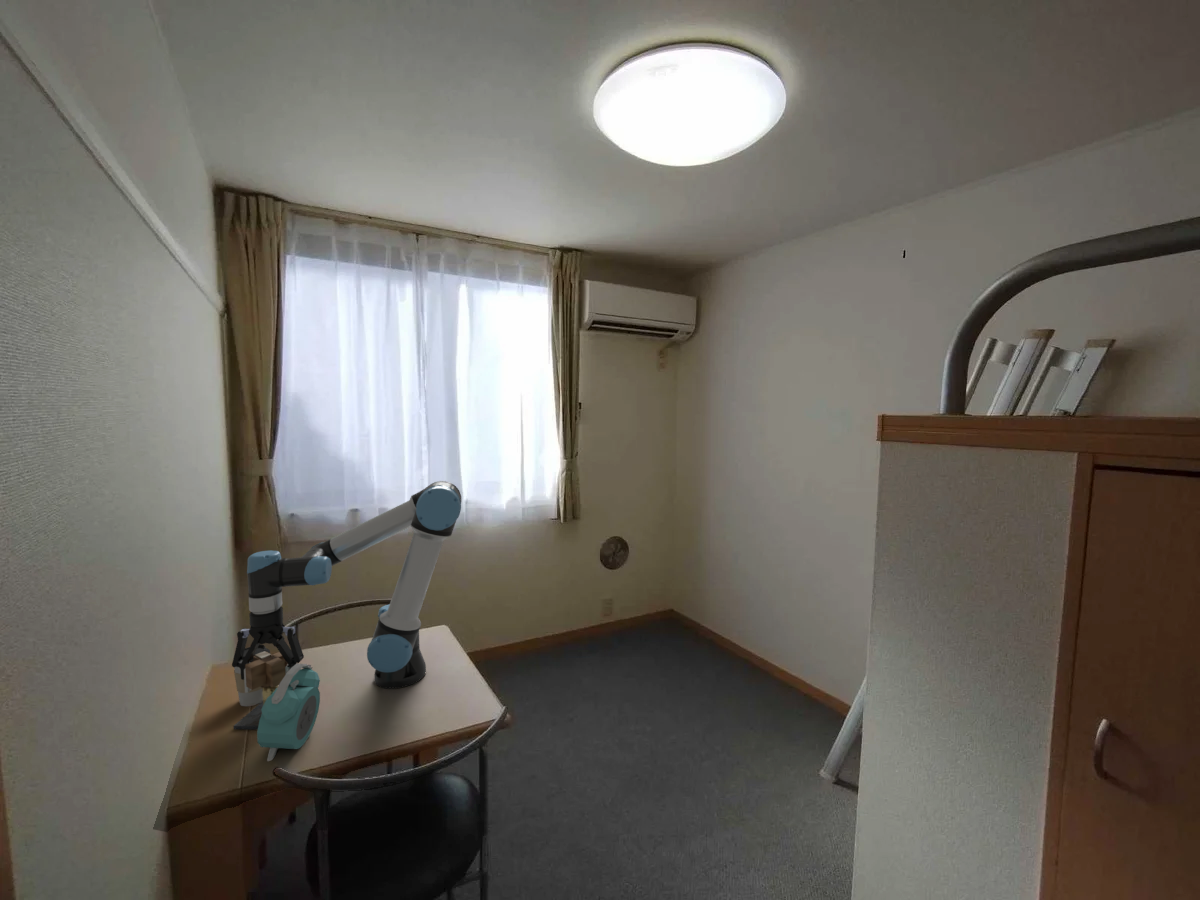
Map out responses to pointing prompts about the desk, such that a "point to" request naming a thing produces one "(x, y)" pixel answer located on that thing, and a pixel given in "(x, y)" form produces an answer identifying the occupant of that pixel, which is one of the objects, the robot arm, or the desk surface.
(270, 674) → the cross cap
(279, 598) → the robot arm
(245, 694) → the coffee cup
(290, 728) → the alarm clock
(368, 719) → the desk surface
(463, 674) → the desk surface
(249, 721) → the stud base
